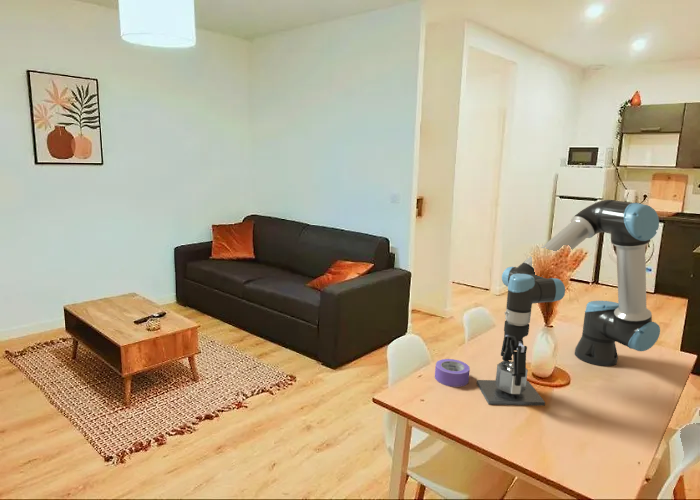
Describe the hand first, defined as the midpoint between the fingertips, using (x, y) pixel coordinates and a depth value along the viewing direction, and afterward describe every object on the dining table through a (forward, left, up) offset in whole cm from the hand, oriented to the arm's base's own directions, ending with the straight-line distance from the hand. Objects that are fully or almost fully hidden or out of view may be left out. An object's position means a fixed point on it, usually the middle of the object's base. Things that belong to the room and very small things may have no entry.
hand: (510, 386), depth 156 cm
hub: (0, 0, 0) cm, 0 cm away
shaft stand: (0, 0, -3) cm, 3 cm away
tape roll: (+17, -10, -3) cm, 20 cm away
